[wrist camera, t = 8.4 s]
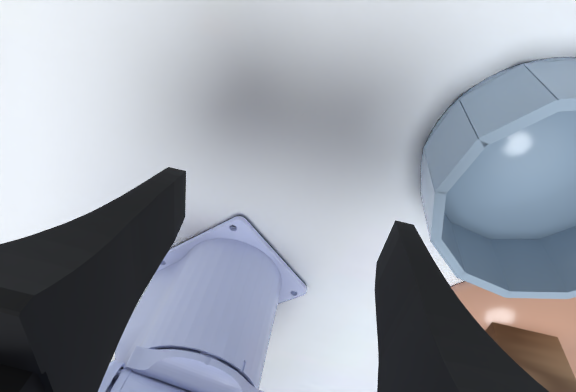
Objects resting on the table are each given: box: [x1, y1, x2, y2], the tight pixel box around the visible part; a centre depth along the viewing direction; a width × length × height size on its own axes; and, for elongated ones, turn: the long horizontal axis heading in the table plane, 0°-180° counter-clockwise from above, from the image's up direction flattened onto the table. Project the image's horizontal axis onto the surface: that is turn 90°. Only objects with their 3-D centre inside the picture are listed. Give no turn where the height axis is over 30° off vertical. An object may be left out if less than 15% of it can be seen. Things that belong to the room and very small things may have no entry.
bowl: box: [420, 57, 576, 299], centre depth 20 cm, size 11×11×4 cm
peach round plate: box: [451, 281, 576, 378], centre depth 29 cm, size 14×14×1 cm
